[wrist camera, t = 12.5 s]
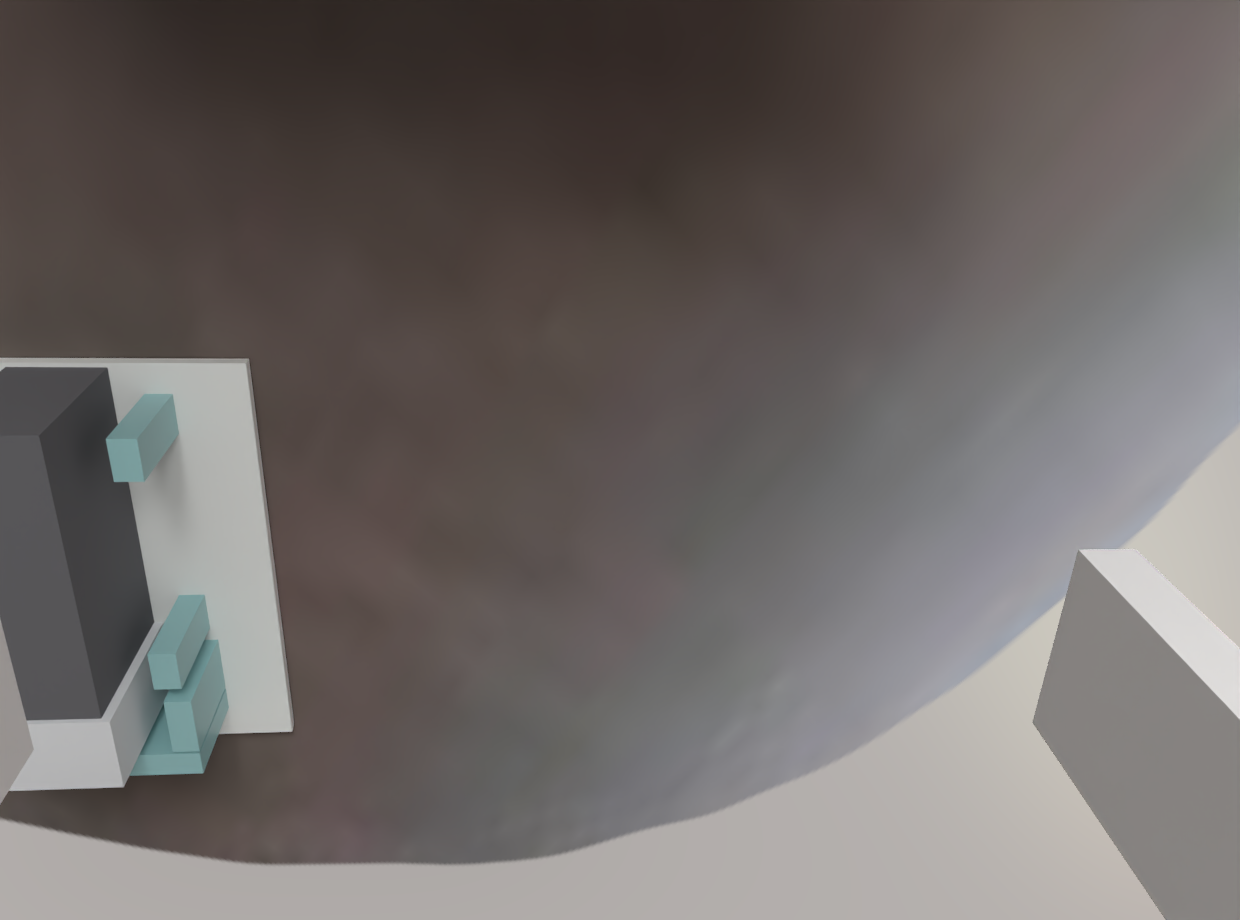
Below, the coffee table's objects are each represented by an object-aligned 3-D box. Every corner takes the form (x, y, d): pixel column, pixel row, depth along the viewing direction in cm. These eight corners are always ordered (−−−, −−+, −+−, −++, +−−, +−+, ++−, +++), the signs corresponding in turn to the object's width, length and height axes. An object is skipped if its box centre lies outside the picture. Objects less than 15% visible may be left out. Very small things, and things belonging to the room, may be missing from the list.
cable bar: (-5, 366, 37) (-97, 438, 32) (117, 367, 38) (47, 437, 32) (69, 684, 43) (2, 791, 38) (174, 681, 44) (123, 787, 38)
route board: (-126, 357, 37) (-204, 405, 33) (249, 358, 38) (217, 405, 34) (-18, 733, 45) (-72, 810, 40) (294, 724, 46) (272, 798, 42)
